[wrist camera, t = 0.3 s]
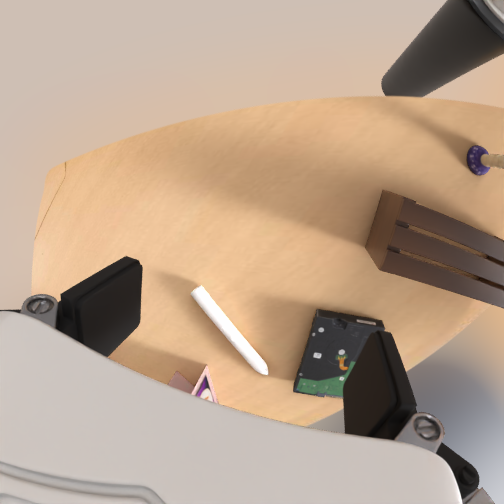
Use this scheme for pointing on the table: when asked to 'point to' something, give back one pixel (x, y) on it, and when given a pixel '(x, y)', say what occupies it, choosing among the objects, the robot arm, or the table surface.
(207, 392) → the greeting card
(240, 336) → the marker
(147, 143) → the table surface
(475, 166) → the toy lamp
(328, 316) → the disk drive
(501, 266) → the bench
